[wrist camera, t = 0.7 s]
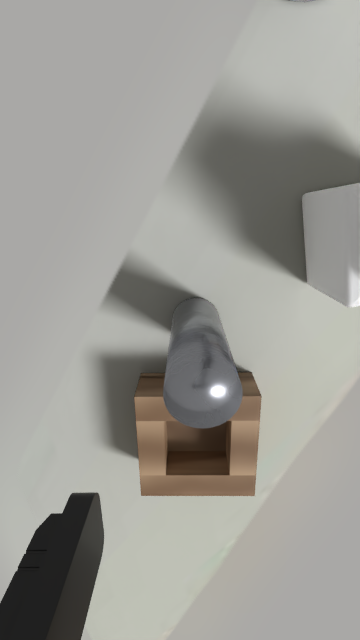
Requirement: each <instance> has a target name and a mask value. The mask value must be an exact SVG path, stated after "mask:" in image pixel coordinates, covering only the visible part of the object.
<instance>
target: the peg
mask: <svg viewBox="0 0 360 640" xmlns="http://www.w3.org/2000/svg"><path fill="white" fill-rule="evenodd" d="M242 396H243V390H242V385H241V382H240V379H239V375H238V372H237V369H236V366H235V363H234V360H233V357H232V354H231V351H230V348H229V345H228V342H227V339H226V335H225V332H224V329H223V326H222V323H221V320H220V317H219V314H218V311H217V309H216V308H215V306H214V305H213V304H212V303H211V302H209V301H208V300H205V299H202V298H190V299H187V300H185V301H183V302H182V303H180V304H179V305H178V306H177V308H176V309H175V311H174V314H173V320H172V327H171V335H170V342H169V350H168V357H167V365H166V372H165V380H164V387H163V400H164V404H165V406H166V408H167V410H168V412H169V413H170V414H171V415H172V416H173V417H174V418H175V419H176V420H177V421H179V422H180V423H182V424H184V425H187V426H189V427H193V428H211V427H215V426H218V425H221V424H223V423H225V422H226V421H228V420H229V419H230V418H231V417H232V416H233V415H234V414H235V413H236V412H237V410H238V409H239V407H240V404H241V401H242Z"/></svg>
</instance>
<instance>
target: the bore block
mask: <svg viewBox="0 0 360 640" xmlns="http://www.w3.org/2000/svg"><path fill="white" fill-rule="evenodd" d="M238 375H239V379H240V382H241V385H242V390H243V396H242V401H241V404H240V407H239V409H238V410H237V412H236V413H235V414H234V415H233V416H232V417H231V418H230V419H229V420H228V421H226V422H225V423H223V424H221V425H218V426H215V427H211V428H193V427H189V426H187V425H184V424H182V423H180V422H179V421H177V420H176V419H175V418H174V417H173V416H172V415H171V414H170V413H169V412H168V410H167V408H166V406H165V404H164V400H163V387H164V380H165V373H141V375H140V379H139V382H138V386H137V389H136V393H135V396H134V400H135V414H136V428H137V442H138V456H139V470H140V484H141V496H255V482H256V468H257V453H258V439H259V424H260V410H261V394H260V392H259V389H258V387H257V384H256V382H255V380H254V377H253V375H252V372H244V373H238Z"/></svg>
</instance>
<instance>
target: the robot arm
mask: <svg viewBox="0 0 360 640" xmlns="http://www.w3.org/2000/svg"><path fill="white" fill-rule="evenodd" d="M290 1H300V2H308V1H314V0H290ZM103 544H104V529H103V521H102V513H101V505H100V497H99V494H98V493H72V494H71V495H70V497H69V499H68V502H67V504H66V506H65V509H64V511H63V513H62V514H50V516H49V517H48V518H47V519H46V520H45V521H44V522H43V523H42V524H41V525H40V526H39V528H38V529H37V530H36V531H35V533H34V536H33V538H32V539H31V542H30V544H29V546H28V548H27V550H26V554H24V556H23V558H22V560H21V562H20V564H19V566H18V570H17V571H16V572H15V574H14V576H13V578H12V580H11V583H10V584H9V587H8V589H7V591H6V593H5V595H4V597H3V599H2V601H1V603H0V640H81V636H82V633H83V629H84V625H85V621H86V617H87V613H88V609H89V605H90V601H91V597H92V593H93V589H94V585H95V581H96V577H97V573H98V569H99V565H100V561H101V557H102V552H103Z"/></svg>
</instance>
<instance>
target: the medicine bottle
mask: <svg viewBox="0 0 360 640" xmlns="http://www.w3.org/2000/svg"><path fill="white" fill-rule="evenodd" d="M302 208H303V225H304V241H305V257H306V273H307V283H308V285H310V286H312V287H313V288H315V289H317V290H319V291H320V292H322V293H324V294H326V295H327V296H329V297H331V298H333V299H334V300H336V301H338V302H340V303H341V304H343V305H345V306H347V307H356V306H360V183H356V184H350V185H345V186H340V187H335V188H329V189H324V190H319V191H314V192H309V193H305V194H304V195H303V196H302Z"/></svg>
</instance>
